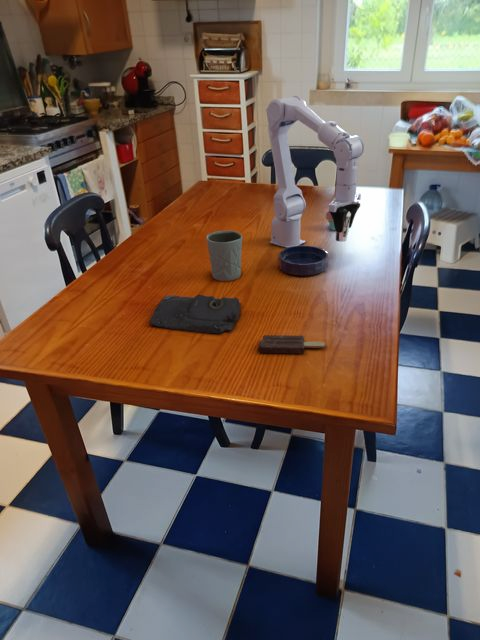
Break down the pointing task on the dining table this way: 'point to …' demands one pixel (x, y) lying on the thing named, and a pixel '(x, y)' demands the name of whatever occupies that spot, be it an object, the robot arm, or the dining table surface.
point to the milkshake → (344, 229)
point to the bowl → (303, 260)
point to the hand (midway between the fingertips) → (343, 229)
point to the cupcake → (330, 219)
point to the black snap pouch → (197, 313)
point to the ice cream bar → (286, 344)
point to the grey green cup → (225, 254)
